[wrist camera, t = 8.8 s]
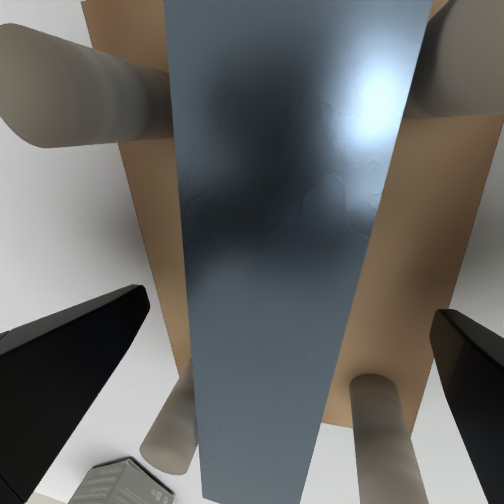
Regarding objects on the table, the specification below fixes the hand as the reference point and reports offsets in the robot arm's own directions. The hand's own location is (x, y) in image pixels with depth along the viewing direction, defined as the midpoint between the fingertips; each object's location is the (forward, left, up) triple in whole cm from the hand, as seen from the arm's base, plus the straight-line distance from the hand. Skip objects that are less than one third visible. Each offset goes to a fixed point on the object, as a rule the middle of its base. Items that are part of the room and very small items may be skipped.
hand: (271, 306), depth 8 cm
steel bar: (0, 0, -2) cm, 3 cm away
